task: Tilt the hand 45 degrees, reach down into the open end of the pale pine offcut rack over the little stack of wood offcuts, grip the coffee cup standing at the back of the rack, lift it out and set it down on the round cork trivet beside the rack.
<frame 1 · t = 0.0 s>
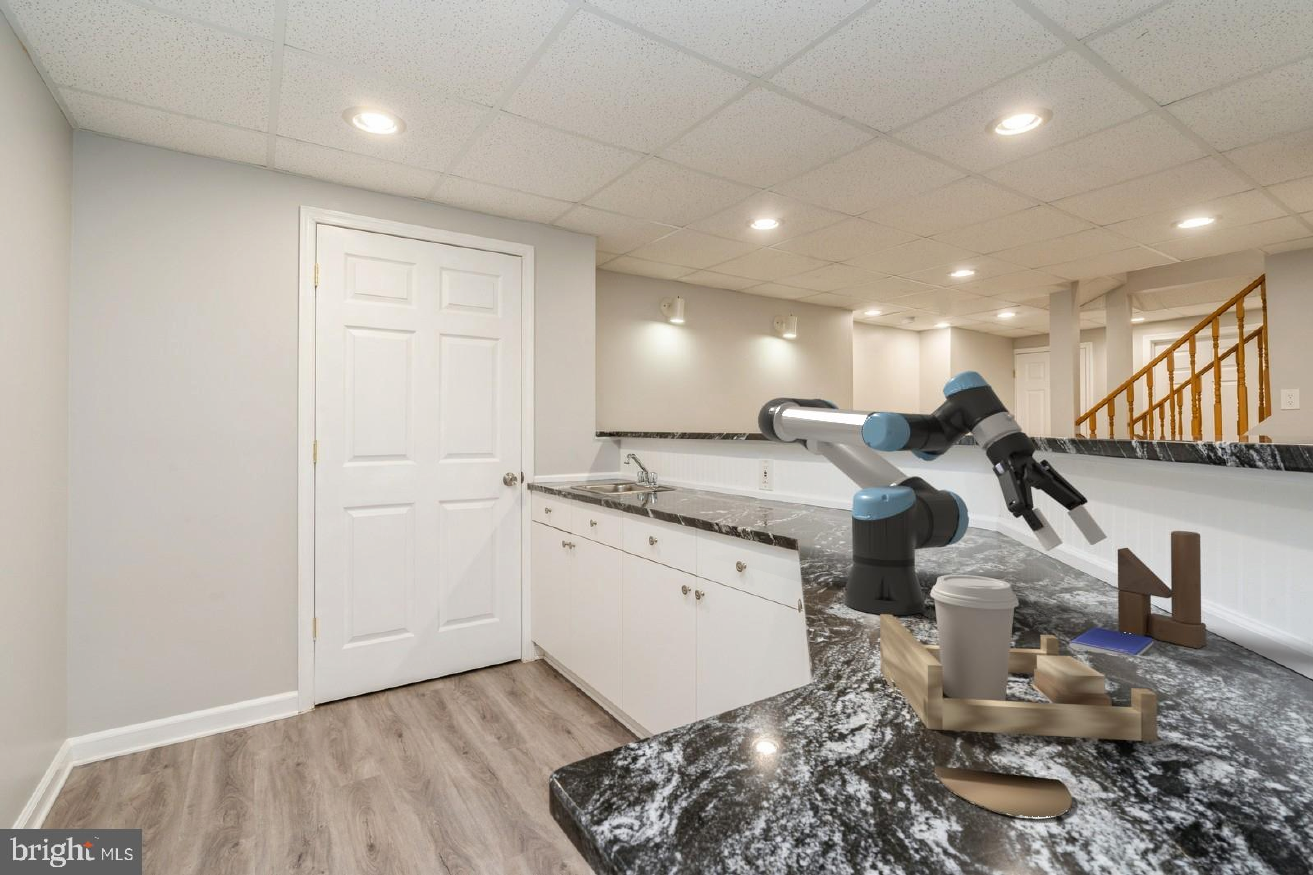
hand: (1077, 544, 102), 15 cm above the worktop, tool tilted 35°, fingers open, 13 cm apart
offcut low: (1070, 716, 72), on the worktop, touching offcut mid
offcut top: (1069, 682, 73), point 3 cm above the worktop, touching offcut mid
coffee cup: (973, 707, 74), resting in rack
hard drive: (1112, 650, 97), on the worktop
rack: (973, 705, 74), on the worktop
offcut mid: (1070, 699, 72), point 1 cm above the worktop, touching offcut low, offcut top
trivet: (999, 783, 56), on the worktop
wooden block: (1160, 640, 100), on the worktop
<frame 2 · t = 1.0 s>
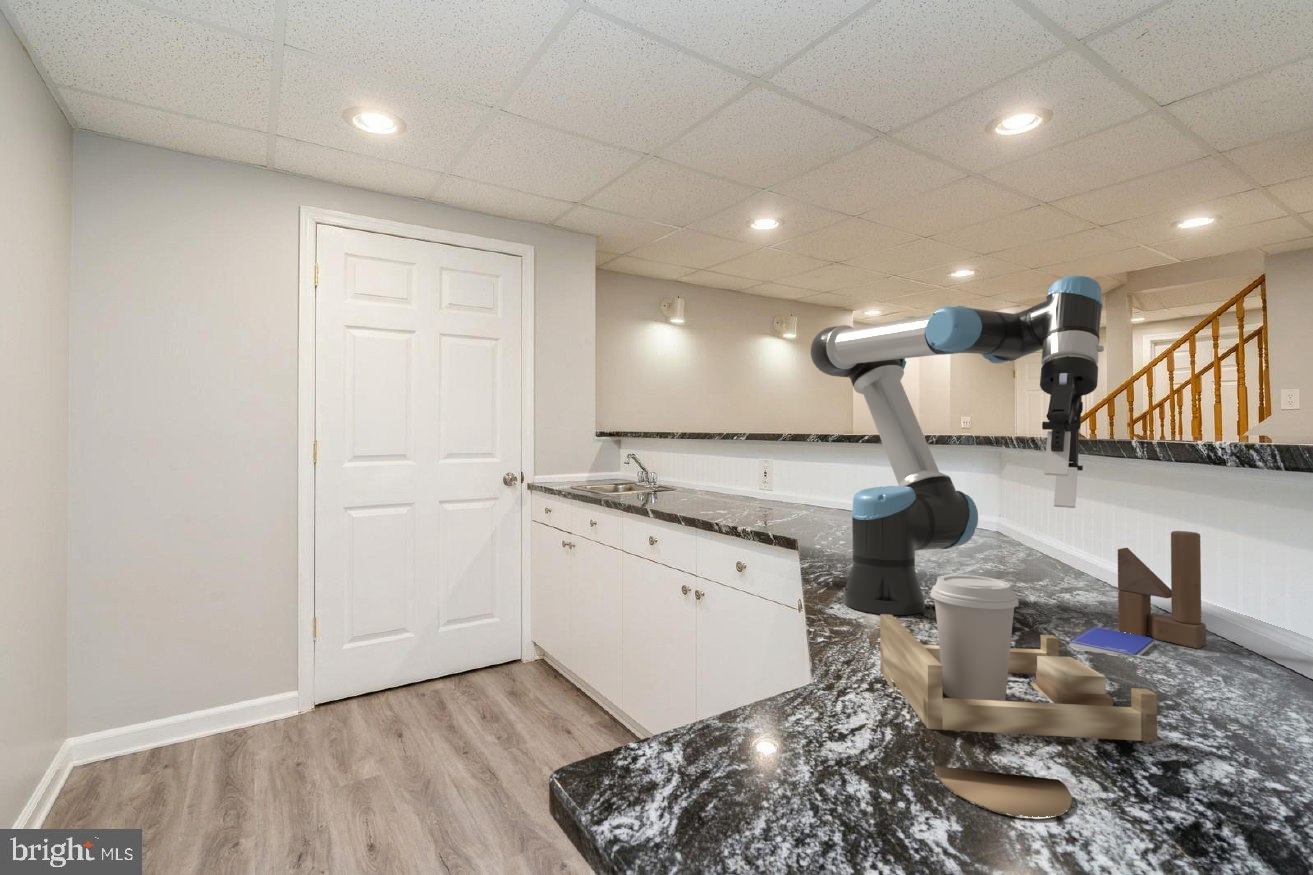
hand: (1060, 491, 90), 25 cm above the worktop, tool tilted 25°, fingers open, 13 cm apart
nothing on the worktop moved.
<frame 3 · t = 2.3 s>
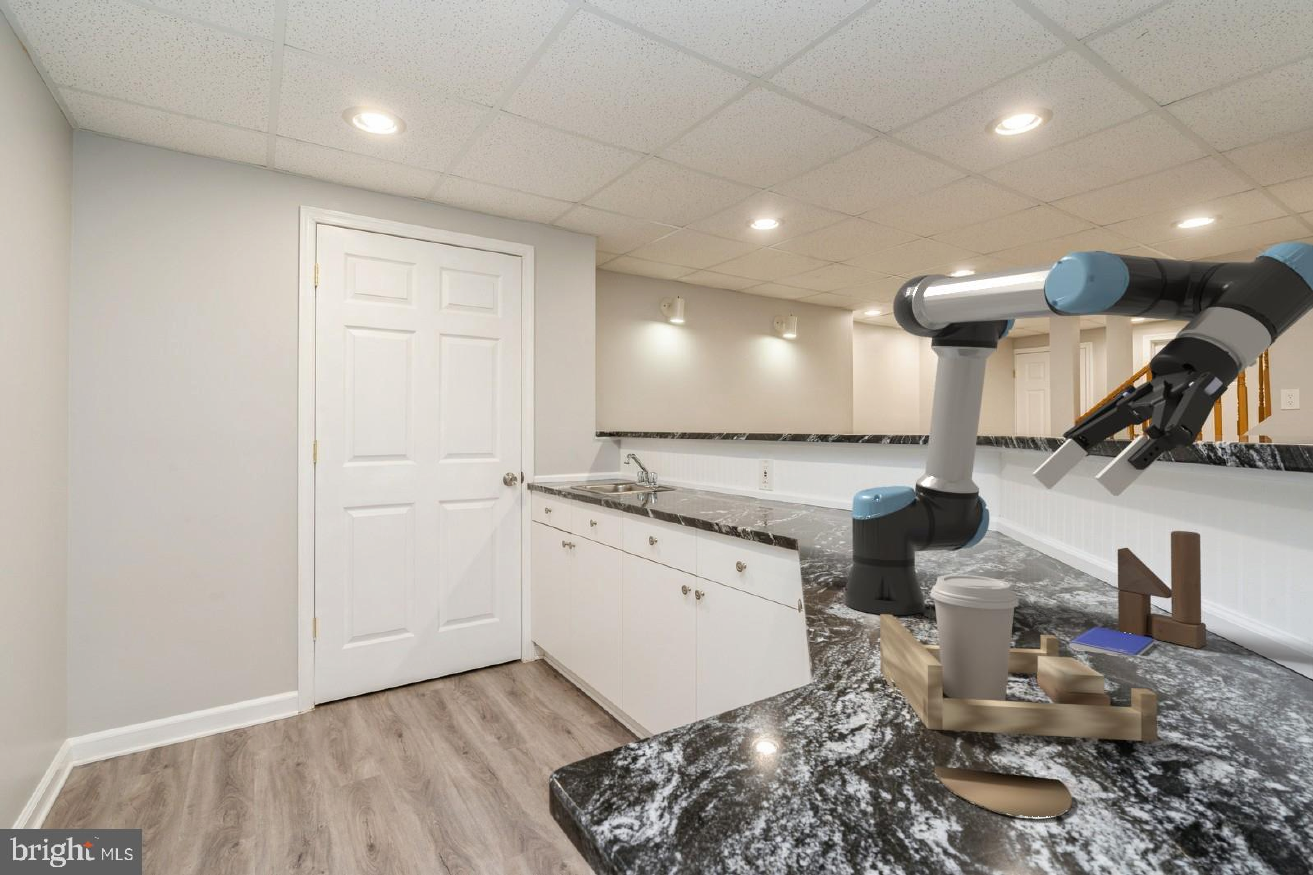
hand: (1070, 484, 72), 27 cm above the worktop, tool tilted 45°, fingers open, 13 cm apart
nothing on the worktop moved.
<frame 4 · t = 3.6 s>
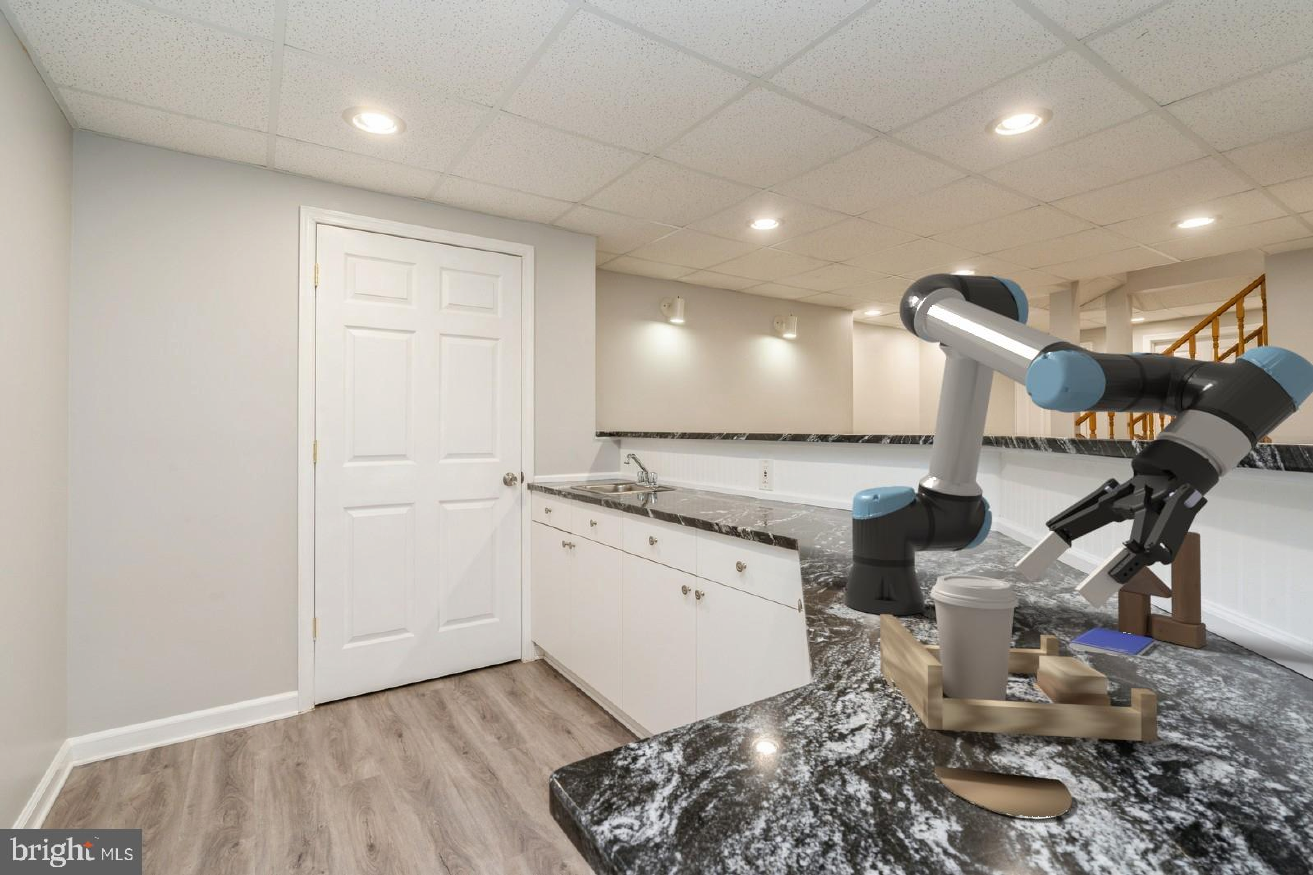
hand: (1051, 585, 72), 15 cm above the worktop, tool tilted 45°, fingers open, 13 cm apart
nothing on the worktop moved.
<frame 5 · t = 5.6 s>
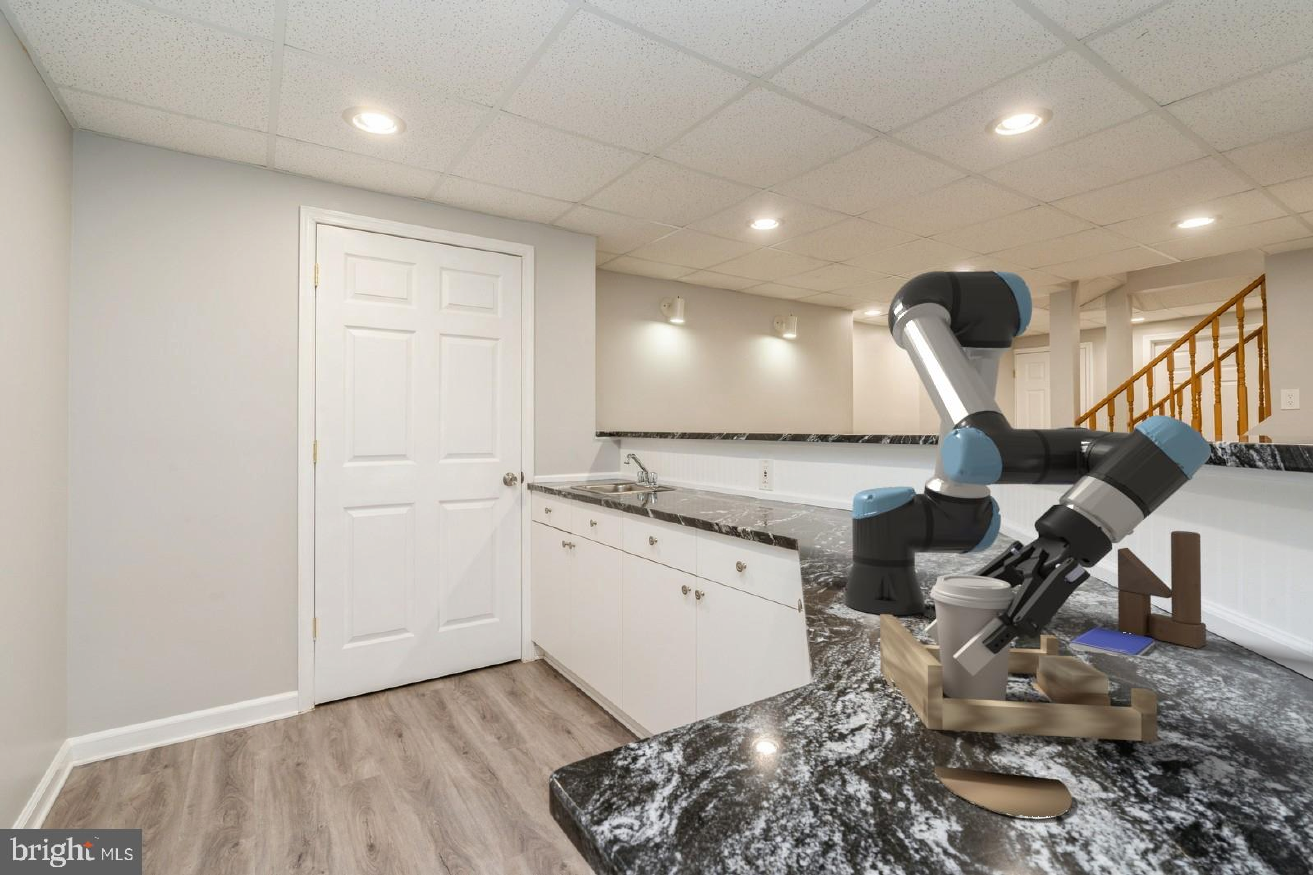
hand: (946, 651, 74), 6 cm above the worktop, tool tilted 45°, fingers closed on coffee cup, 9 cm apart
coffee cup: (973, 707, 74), resting in rack, touching gripper
everything else where it was.
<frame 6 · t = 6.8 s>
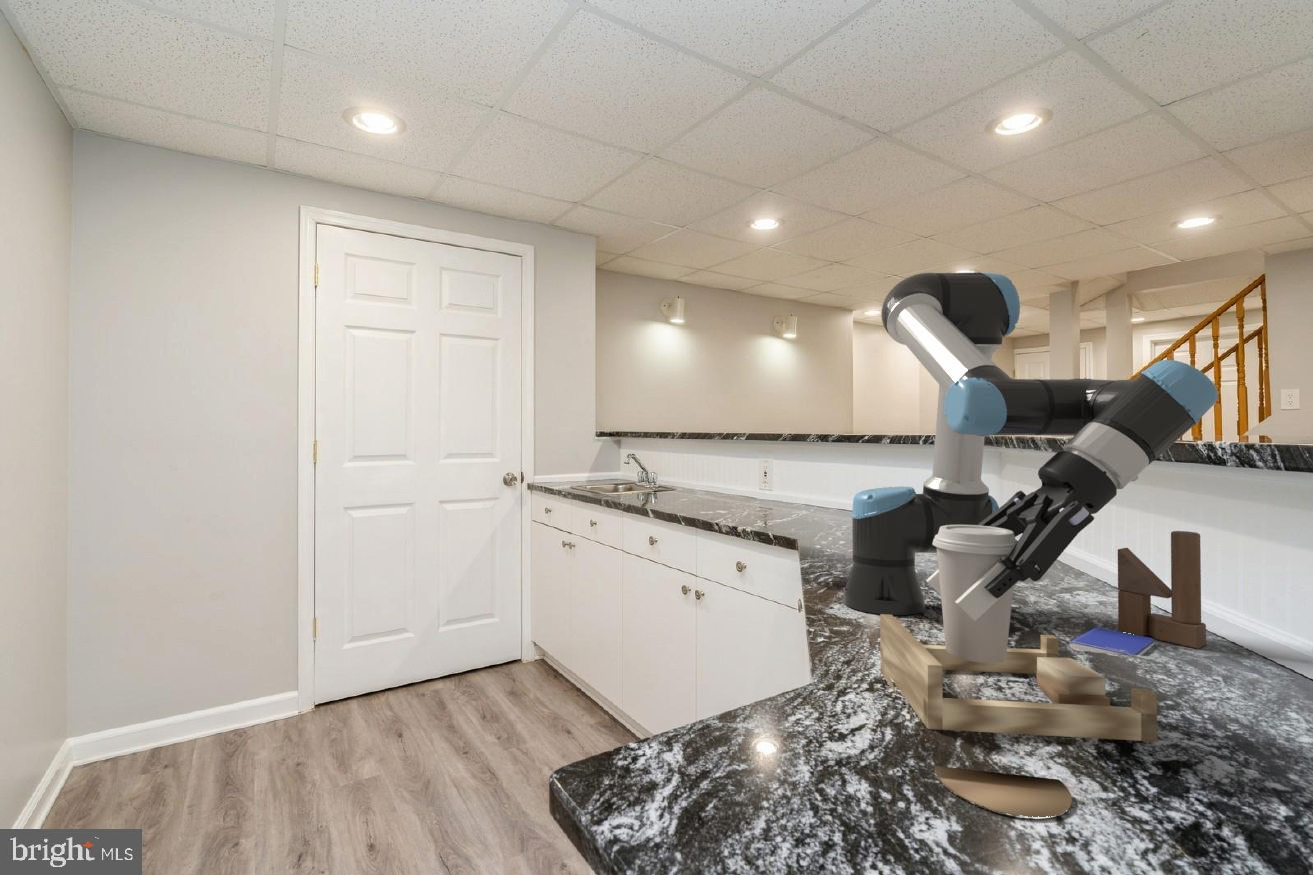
hand: (948, 599, 74), 13 cm above the worktop, tool tilted 45°, fingers closed on coffee cup, 9 cm apart
coffee cup: (975, 654, 73), point 6 cm above the worktop, touching gripper
everything else where it was.
when the fingers open (8 cm above the worktop, at t = 12.0 s): coffee cup drops 1 cm, resting on trivet.
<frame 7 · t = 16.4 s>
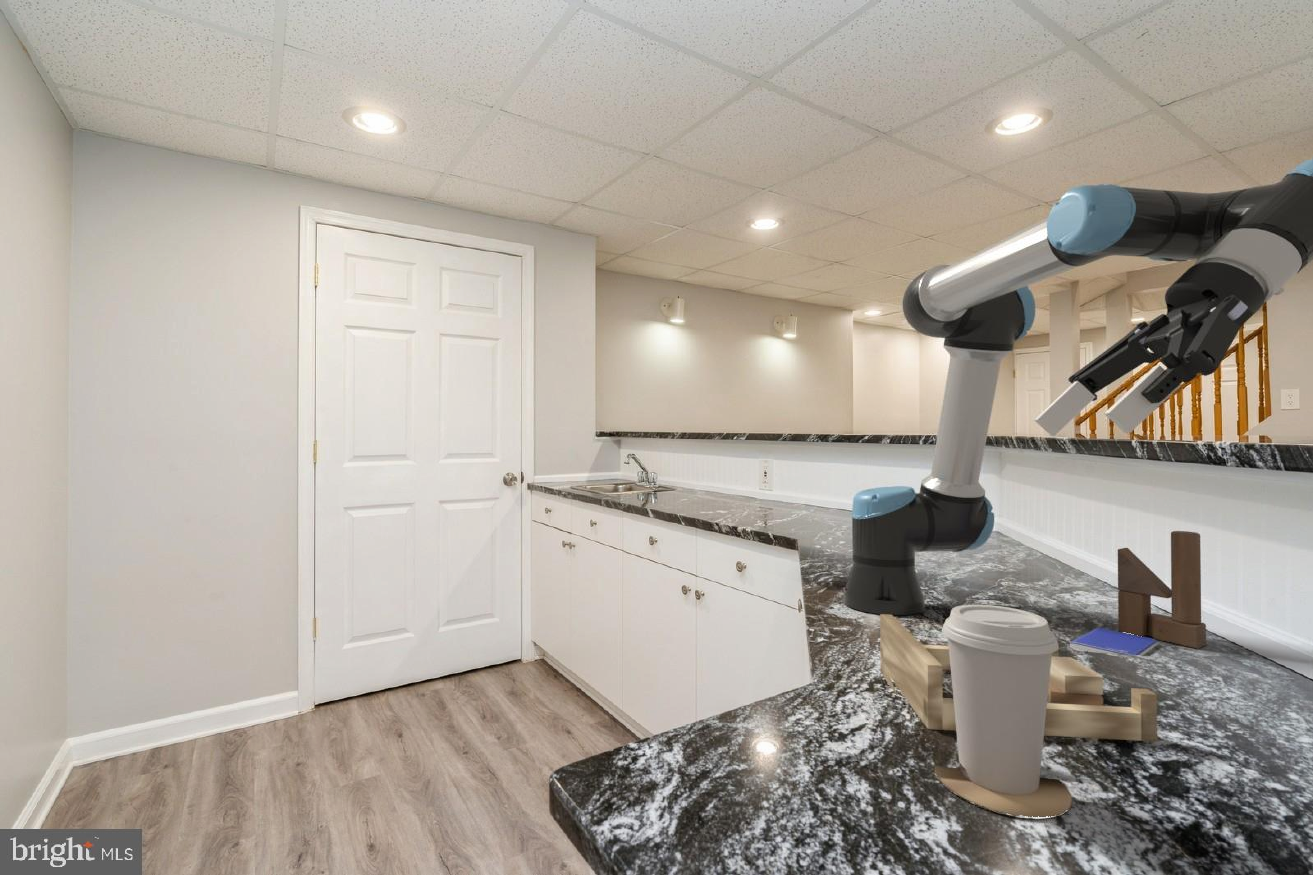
hand: (1076, 426, 66), 34 cm above the worktop, tool tilted 45°, fingers open, 13 cm apart
coffee cup: (998, 777, 57), resting on trivet
everything else where it was.
at the end: coffee cup 0.6 cm from the trivet (horizontally); coffee cup tilted 0°; coffee cup resting on trivet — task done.
